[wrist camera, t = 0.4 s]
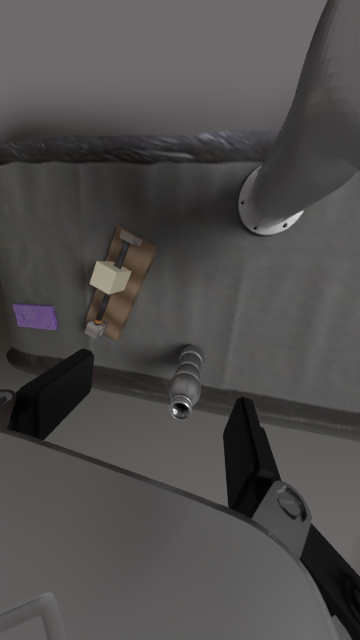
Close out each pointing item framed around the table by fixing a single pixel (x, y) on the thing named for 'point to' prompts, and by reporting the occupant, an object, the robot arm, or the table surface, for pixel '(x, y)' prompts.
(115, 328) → the wooden linear slide
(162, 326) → the table surface
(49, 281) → the table surface
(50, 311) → the sponges
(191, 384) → the plastic bottle
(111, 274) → the cream foam block
